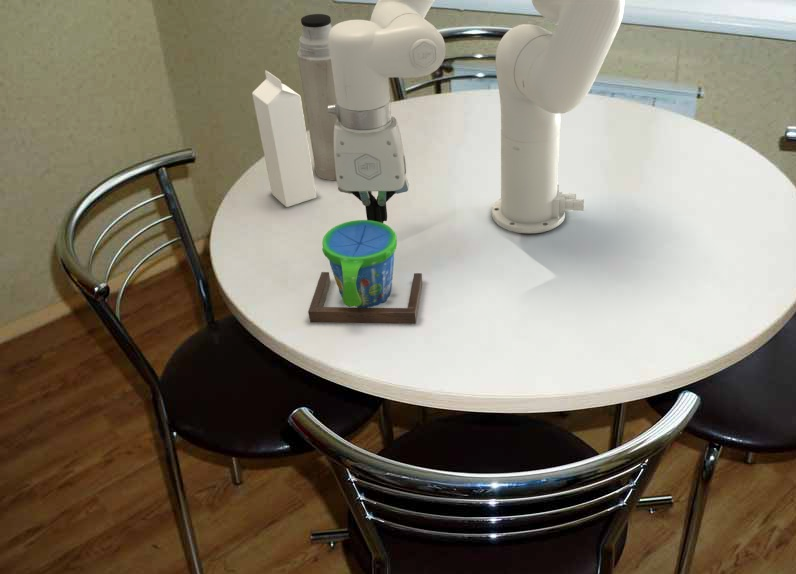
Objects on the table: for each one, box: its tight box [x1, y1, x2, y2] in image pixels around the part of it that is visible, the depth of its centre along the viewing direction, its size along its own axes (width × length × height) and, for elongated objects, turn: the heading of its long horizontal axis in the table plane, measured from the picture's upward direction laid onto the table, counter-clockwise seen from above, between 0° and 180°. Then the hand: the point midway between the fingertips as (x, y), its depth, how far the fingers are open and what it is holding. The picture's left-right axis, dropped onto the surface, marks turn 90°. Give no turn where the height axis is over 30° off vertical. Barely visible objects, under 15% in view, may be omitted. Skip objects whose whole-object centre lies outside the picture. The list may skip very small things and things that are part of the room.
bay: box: [307, 271, 424, 325], centre depth 124 cm, size 15×10×2 cm, turn 89°
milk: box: [251, 69, 317, 208], centre depth 143 cm, size 6×6×22 cm
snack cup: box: [322, 219, 398, 308], centre depth 123 cm, size 16×10×10 cm
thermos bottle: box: [296, 13, 338, 181], centre depth 148 cm, size 8×8×28 cm
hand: (378, 224), depth 132 cm, fingers closed
